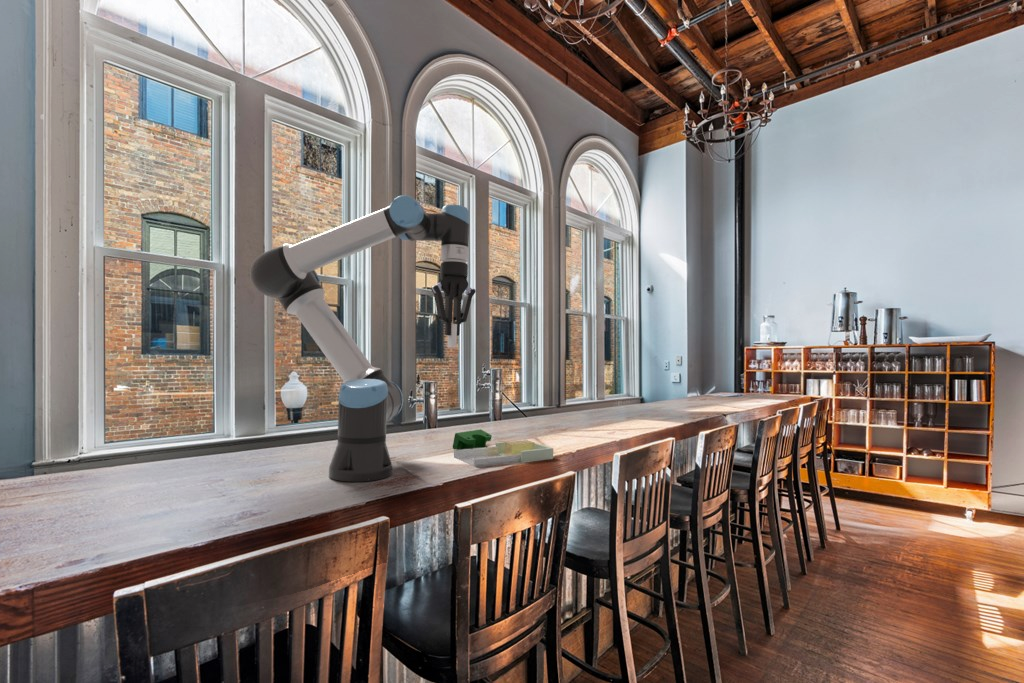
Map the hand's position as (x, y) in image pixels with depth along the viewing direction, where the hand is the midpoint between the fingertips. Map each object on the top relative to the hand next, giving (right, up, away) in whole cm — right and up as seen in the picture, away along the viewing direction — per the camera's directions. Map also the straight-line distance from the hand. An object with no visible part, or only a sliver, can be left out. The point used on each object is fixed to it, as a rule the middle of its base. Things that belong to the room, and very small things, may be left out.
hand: (451, 347), depth 140 cm
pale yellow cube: (+21, -32, +11) cm, 40 cm away
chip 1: (+17, -32, +9) cm, 38 cm away
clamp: (+4, -33, +20) cm, 39 cm away
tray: (+20, -33, +11) cm, 40 cm away
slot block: (+9, -33, +4) cm, 34 cm away
